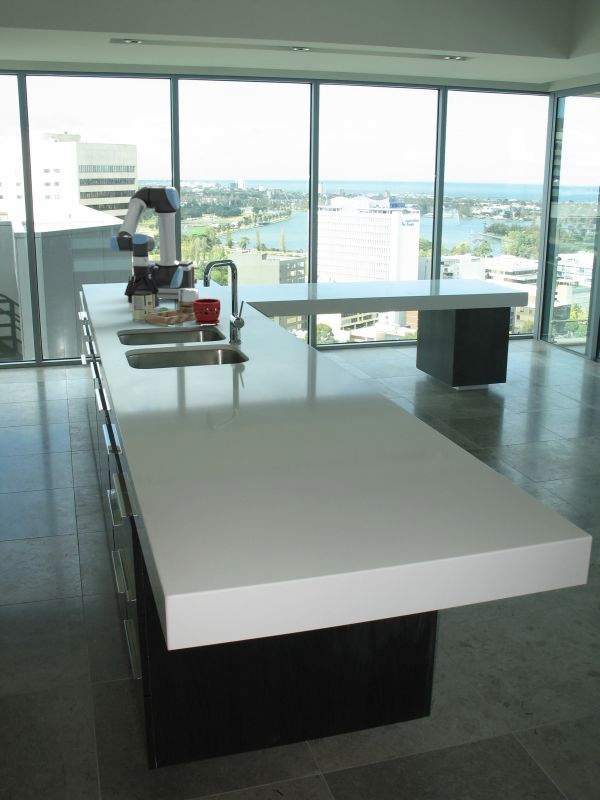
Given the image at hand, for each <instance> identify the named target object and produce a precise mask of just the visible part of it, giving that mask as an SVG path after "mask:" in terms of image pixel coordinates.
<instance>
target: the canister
mask: <svg viewBox="0 0 600 800" xmlns="http://www.w3.org/2000/svg"><path fill="white" fill-rule="evenodd" d="M198 299H199V288H196V287H195V288H181V289H178V300H177V301H178V302H177V306H178V309H179V312H180V313H186V314H191V313H194V308H193V301H195V300H198Z"/></svg>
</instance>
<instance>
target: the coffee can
mask: <svg viewBox="0 0 600 800" xmlns="http://www.w3.org/2000/svg"><path fill="white" fill-rule="evenodd" d="M133 297H134V310H131V311H132V321H133V322H137V321H139V322H141V323H145V321H144V314H150V313H153V311H154V307H153V301H152V292H151V291H135V292H134V294H133Z"/></svg>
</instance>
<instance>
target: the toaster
mask: <svg viewBox="0 0 600 800" xmlns="http://www.w3.org/2000/svg"><path fill="white" fill-rule="evenodd" d="M159 261H160V260H150V259H149V263H155V266H158V262H159ZM177 261H178V262H179V266H181V267H182V268H183V278H182V282H181V285H180V286H179V287H177V288H165V287H157V288H158V290H159V292H157V297H158V298H164V299H178V289H181V288H196V286H195V285H197V283H198V279H197V278H195V270H199V269H200V267H195V264H194V262H193V260H191V261H188V260H187V261H186V260H177ZM164 299H163V300H164Z"/></svg>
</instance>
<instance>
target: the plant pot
mask: <svg viewBox="0 0 600 800" xmlns="http://www.w3.org/2000/svg"><path fill="white" fill-rule="evenodd" d="M193 308H194V314H195V317H196V320H195V324H198V325H200V324H217V323H218V324H219V323H220V319H219V317H220V314H221V300H220V299H217V298H198V300H195V301H193ZM218 324H217V325H218Z"/></svg>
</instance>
